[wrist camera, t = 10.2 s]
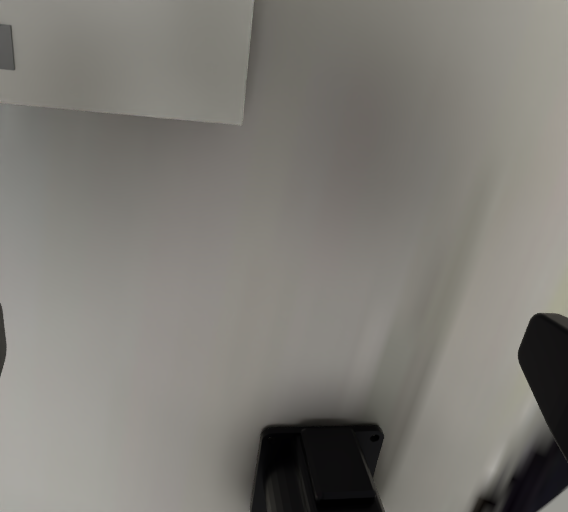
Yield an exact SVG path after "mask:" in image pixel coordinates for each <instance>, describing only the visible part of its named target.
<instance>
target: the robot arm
mask: <svg viewBox="0 0 568 512" xmlns="http://www.w3.org/2000/svg"><path fill="white" fill-rule="evenodd" d="M5 357H6V337H5V328H4V319H3V311H2V306H1V303H0V376H1V372H2V369H3V365H4V362H5ZM518 360H519V364H520V366H521V368H522V370H523V373H524V375H525V377H526V379H527V381H528V384H529V386H530V388H531V390H532V392H533V394H534V397H535V399H536V401H537V403H538V405H539V408H540V410H541V412H542V414H543V416H544V418H545V421H546V423H547V425H548V427H549V429H550V431H551V433H552V435H553V437H554V439H555V440H556V442H557V444H558V446H559V448H560V449H561V451H562V453H563V455H564V456H565V458H566V460H567V462H568V318H567V317H565V316H562V315H560V314H555V313H537V314H535V315H534V316H533V317H532V318H531V320H530V322H529V324H528V327H527V329H526V332H525V334H524V337H523V339H522V342H521V344H520V347H519V350H518ZM373 435H374V436H373ZM269 437H273V438H270V439H269ZM383 439H384V434H383V432H382V430H381V428H380V427H379V426H375V425H372V426H320V427H271V428H267V429H265V430H264V431H263V432H262V433H261V437H260V444H259V451H258V458H257V464H256V471H255V478H254V485H253V492H252V498H251V505H250V512H385V510H384V507H383V505H382V502H381V499H380V497H379V494H378V491H377V488H376V486H375V483H374V480H373V475H374V471H375V467H376V464H377V460H378V457H379V453H380V450H381V446H382V443H383Z"/></svg>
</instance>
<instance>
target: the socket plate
mask: <svg viewBox="0 0 568 512" xmlns="http://www.w3.org/2000/svg"><path fill="white" fill-rule="evenodd" d="M253 8H254V0H0V103H2V104H13V105H24V106H35V107H46V108H56V109H67V110H78V111H89V112H100V113H111V114H122V115H133V116H143V117H154V118H165V119H176V120H187V121H198V122H209V123H220V124H230V125H241V126H242V124H243V113H244V103H245V92H246V82H247V71H248V61H249V50H250V40H251V29H252V19H253Z"/></svg>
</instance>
